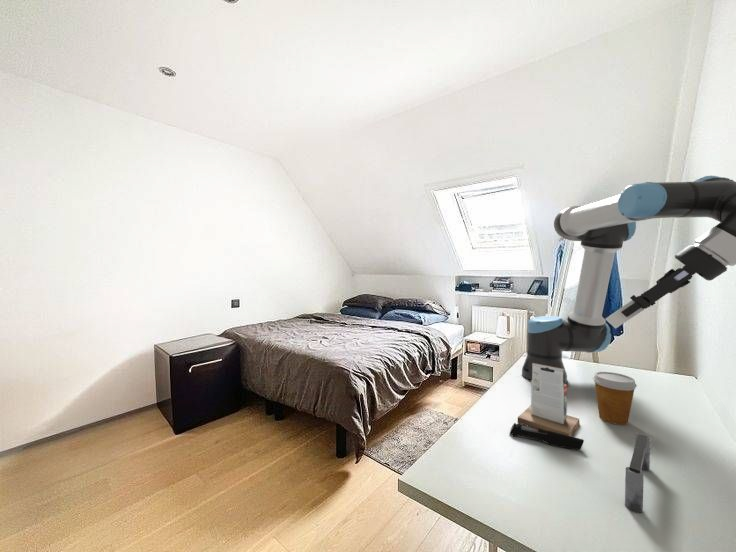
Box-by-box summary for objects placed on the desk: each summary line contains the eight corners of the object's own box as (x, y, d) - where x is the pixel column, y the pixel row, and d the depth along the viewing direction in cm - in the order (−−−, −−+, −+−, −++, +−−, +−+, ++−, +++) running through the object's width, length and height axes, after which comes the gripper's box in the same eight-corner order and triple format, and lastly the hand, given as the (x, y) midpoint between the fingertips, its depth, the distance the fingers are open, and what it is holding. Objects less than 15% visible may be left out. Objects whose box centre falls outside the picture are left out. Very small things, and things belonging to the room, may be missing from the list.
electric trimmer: (584, 457, 70) (584, 443, 70) (509, 436, 78) (509, 424, 78) (582, 448, 73) (583, 435, 73) (510, 430, 81) (511, 418, 81)
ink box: (534, 410, 88) (535, 359, 88) (567, 420, 82) (568, 366, 82) (530, 415, 85) (531, 362, 85) (563, 425, 80) (564, 369, 80)
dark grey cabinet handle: (635, 462, 67) (635, 430, 67) (650, 467, 65) (650, 434, 65) (623, 507, 54) (624, 468, 54) (642, 515, 53) (643, 475, 52)
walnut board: (531, 409, 92) (531, 404, 92) (579, 424, 84) (579, 418, 84) (517, 422, 84) (517, 417, 84) (568, 439, 76) (569, 433, 76)
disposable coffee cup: (644, 429, 81) (645, 384, 80) (603, 426, 83) (604, 381, 82) (622, 413, 90) (623, 372, 90) (585, 410, 92) (586, 370, 92)
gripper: (738, 268, 52) (622, 341, 63) (724, 268, 70) (635, 325, 81) (693, 238, 56) (591, 312, 67) (690, 246, 73) (609, 303, 84)
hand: (614, 320), depth 74 cm, fingers open, 13 cm apart
